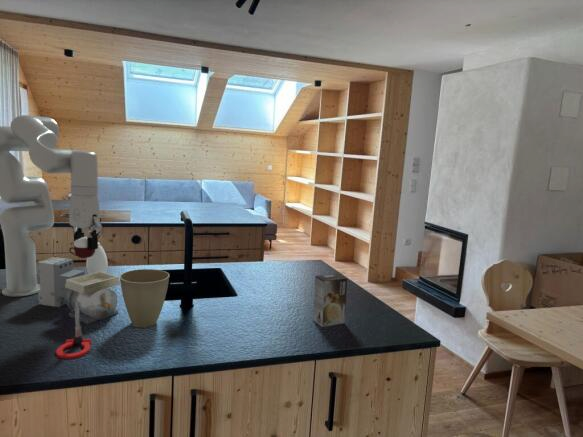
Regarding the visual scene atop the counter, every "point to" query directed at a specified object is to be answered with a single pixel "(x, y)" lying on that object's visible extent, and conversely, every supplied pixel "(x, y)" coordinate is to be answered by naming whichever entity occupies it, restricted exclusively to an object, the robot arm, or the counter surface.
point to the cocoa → (82, 248)
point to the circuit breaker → (55, 280)
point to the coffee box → (330, 299)
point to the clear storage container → (92, 296)
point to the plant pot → (144, 295)
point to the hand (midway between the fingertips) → (85, 246)
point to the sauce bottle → (97, 261)
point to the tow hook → (75, 340)
